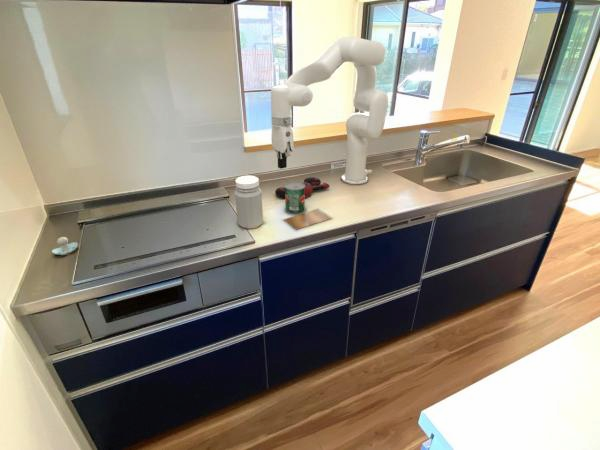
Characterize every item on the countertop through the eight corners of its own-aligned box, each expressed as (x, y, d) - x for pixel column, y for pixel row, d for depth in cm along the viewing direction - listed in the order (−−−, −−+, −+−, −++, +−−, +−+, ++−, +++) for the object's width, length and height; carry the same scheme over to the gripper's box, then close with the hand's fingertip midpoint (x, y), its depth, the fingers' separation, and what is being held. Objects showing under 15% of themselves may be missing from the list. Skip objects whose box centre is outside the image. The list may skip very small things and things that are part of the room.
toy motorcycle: (272, 198, 153) (295, 205, 142) (270, 187, 151) (294, 193, 140) (312, 185, 168) (336, 190, 157) (311, 174, 166) (336, 178, 155)
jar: (234, 220, 133) (230, 176, 124) (258, 215, 137) (255, 172, 128) (241, 232, 125) (237, 186, 117) (267, 226, 129) (264, 182, 120)
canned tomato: (282, 207, 142) (282, 183, 137) (300, 204, 145) (300, 180, 139) (289, 216, 136) (288, 190, 131) (307, 213, 138) (308, 187, 133)
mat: (317, 209, 141) (317, 209, 141) (330, 218, 134) (330, 218, 134) (283, 220, 133) (283, 219, 133) (296, 229, 127) (296, 229, 127)
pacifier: (51, 253, 114) (56, 260, 110) (43, 237, 111) (49, 243, 107) (75, 244, 119) (81, 250, 115) (68, 228, 116) (75, 234, 112)
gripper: (300, 124, 126) (300, 171, 135) (280, 116, 137) (281, 160, 146) (282, 126, 123) (283, 174, 132) (263, 118, 134) (265, 163, 143)
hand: (282, 167), depth 139 cm, fingers closed
